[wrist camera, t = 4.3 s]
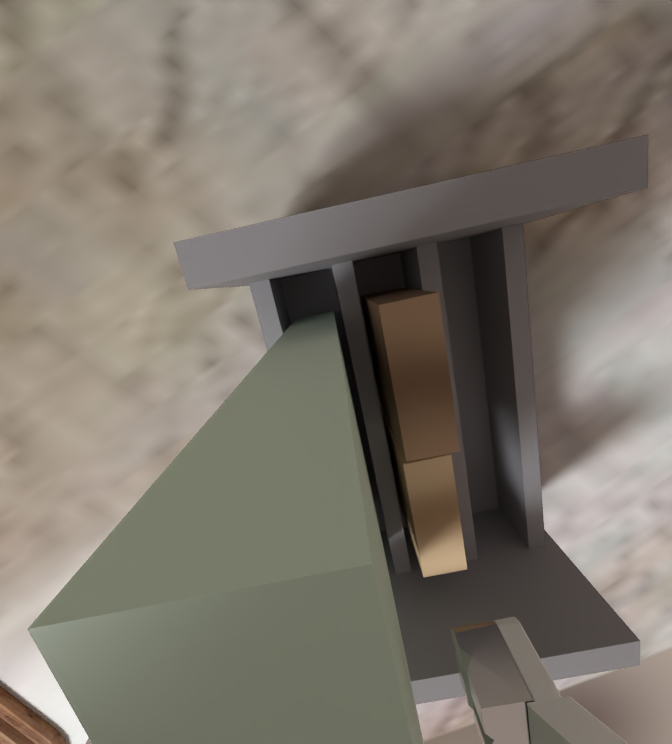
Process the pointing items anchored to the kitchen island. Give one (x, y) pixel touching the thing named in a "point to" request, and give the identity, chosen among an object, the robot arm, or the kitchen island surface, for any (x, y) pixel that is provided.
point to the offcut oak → (429, 508)
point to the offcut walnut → (412, 370)
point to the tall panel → (245, 580)
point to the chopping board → (24, 724)
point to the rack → (468, 382)
